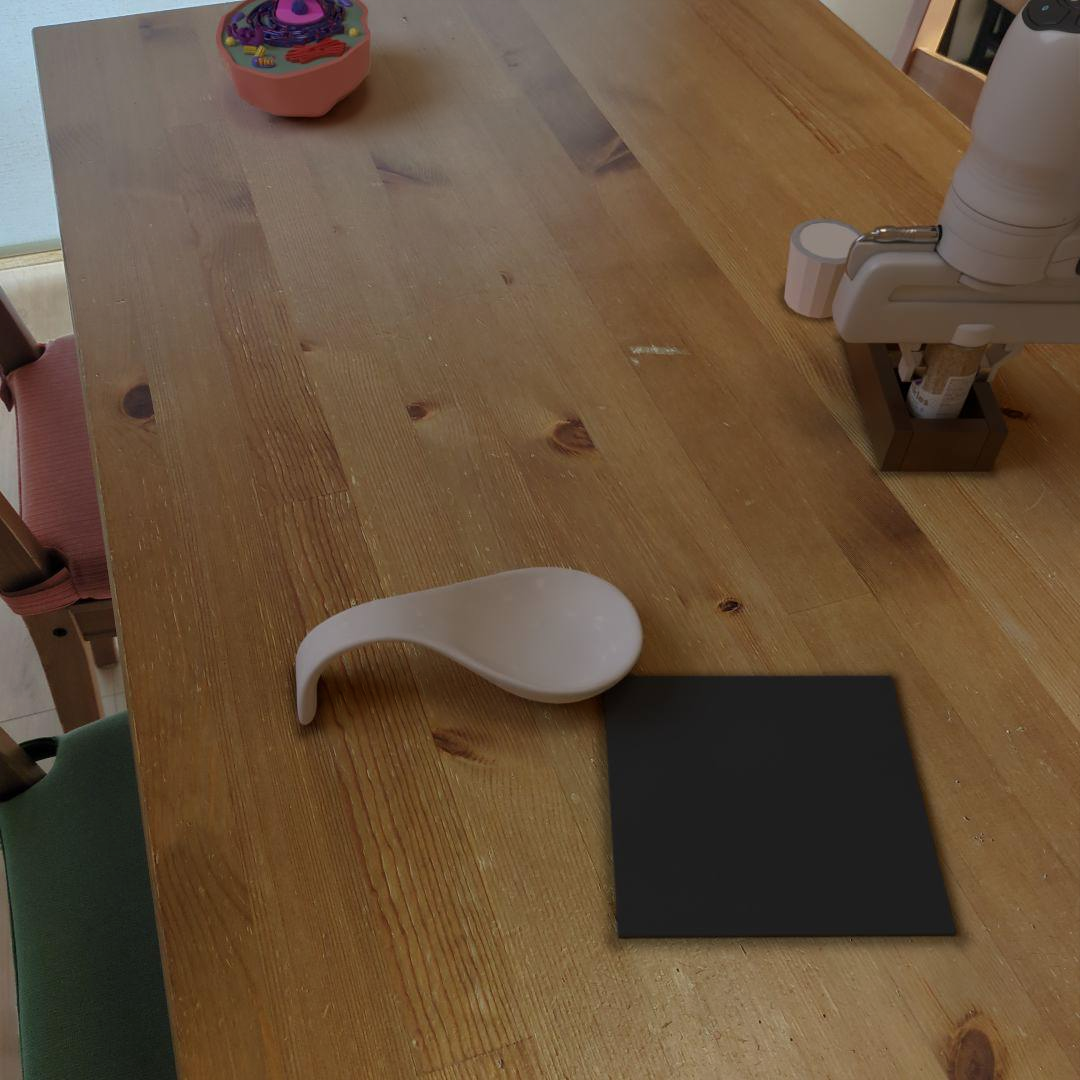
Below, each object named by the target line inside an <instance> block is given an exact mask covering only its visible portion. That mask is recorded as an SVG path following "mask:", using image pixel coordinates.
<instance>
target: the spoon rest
mask: <svg viewBox="0 0 1080 1080" xmlns="http://www.w3.org/2000/svg"><path fill="white" fill-rule="evenodd" d="M381 643H403V644H404V643H406V644H412V645H416V646H420V647H423V648H425V649H428V650H431V651H434V652H436V653H438V654H440V655H442V656H444V657H446V658H448V659H450V660H451V661H453V662H455V663H457V664H459V665H460V666H462V667H464V668H466V669H468V670H469V671H470V672H473V673H474V674H476V675H478V676H479V677H481V678H482V679H484V680H486V681H487V682H489V683H491V684H493V685H495V686H497V687H498V688H500V689H502V690H504V691H506V692H507V693H510V694H512V695H514V696H517V697H519V698H523V699H526V700H530V701H534V702H538V703H546V704H570V703H577V702H580V701H584V700H588V699H590V698H593V697H596V696H598V695H600V694H602V693H604V691H606V690H607V689H609V688H611V687H613V686H614V685H615V684H617V683H618V682H619V681H620V680H622V679H623V678H624V677H625V676H628V674H629V673H630V672H631V671H632V669H633V668H634V667H635V666H636V664H637V662H638V660H639V659H640V657H641V653H642V650H643V646H644V631H643V626H642V621H641V618H640V616H639V613H638V611H637V609H636V607H635V606H634V604H633V603H632V601H631V600H630V599H629V598H628V597H627V595H625V594H624V593H623V591H622V590H620V589H619V588H618V587H617V586H615V585H614V584H612V583H611V582H609V581H608V580H605V579H604V578H601V577H599V576H598V575H595V574H592V573H589V572H585V571H582V570H579V569H575V568H574V569H573V568H566V567H558V566H557V567H556V566H535V567H525V568H518V569H512V570H506V571H501V572H498V573H494V574H490V575H485V576H482V577H481V576H480V577H476V578H472V579H469V580H464V581H459V582H454V583H452V584H446V585H443V586H438V587H432V588H429V589H424V590H418V591H414V592H408V593H404V594H399V595H394V596H388V597H383V598H378V599H374V600H370V601H367V602H363V603H361V604H357V605H355V606H353V607H350V608H347V609H345V610H343V611H341V612H338V613H336V614H334V615H332V616H330V617H329V618H326V619H325V620H323V621H322V622H321V623H319V624H317V625H316V626H314V628H313V629H312V630H310V631H309V632H308V634H307V635H305V637H304V639H303V640H302V641H301V643H300V645H299V647H298V649H297V651H296V652H297V653H296V656H295V680H296V681H295V682H296V683H295V685H296V705H297V706H296V708H297V716H298V721H299V723H300V724H301V725H303V726H304V725H305V726H306V725H308V724H311V722H312V721H313V720H314V717H315V716H316V713H317V706H318V691H317V690H318V689H317V688H318V681H319V679H320V677H321V676H322V673H323V672H324V671H325V669H327V667H328V666H329V665H330V664H331V663H333V662H334V661H335V660H337V659H339V658H340V657H343V656H344V655H346V654H348V653H350V652H353V651H355V650H358V649H361V648H363V647H367V646H370V645H371V646H372V645H375V644H381Z"/></svg>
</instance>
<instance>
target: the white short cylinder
mask: <svg viewBox="0 0 1080 1080" xmlns="http://www.w3.org/2000/svg"><path fill="white" fill-rule="evenodd" d="M861 235H863V232H862V231H860V230H859V229H857V227H855V226H853V225H852V224H850V223H846V222H843V221H841V220H838V219H831V218H815V219H808V220H805V221H803V222H801V223H799V224H797V225H796V226H795V228H794V229H793V230H792V231H791V234H790V243H789V250H788V251H789V252H788V259H787V260H788V261H787V268H786V269H787V270H786V279H785V286H784V301H785V303H786V304H787V306H788V308H790V309H792V310H793V311H794V312H796V313H797V314H799V315H802V316H805V317H807V318H815V319H827V318H833V315H832V304H833V300H834V297H835V295H836V292H837V289H838V287H839V284H840V282H841V279H842V277H843V275H844V273H845V263H846V259H847V255H848V252H849V248H850V245H851V243H852V242H853V241H854V239H856V238H858V237H860V236H861Z"/></svg>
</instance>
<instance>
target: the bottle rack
mask: <svg viewBox="0 0 1080 1080" xmlns="http://www.w3.org/2000/svg"><path fill="white" fill-rule="evenodd" d="M841 340H842V343H843V347H844V350H845V354H846V358H847V361H848V364H849V368H850V372H851V375H852V378H853V382H854V385H855V389H856V392H857V395H858V399H859V403H860V406H861V409H862V412H863V416H864V420H865V423H866V426H867V427H866V428H867V430H868V433H869V438H870V440H871V443H872V447H873V451H874V455H875V458H876V460H877V465H878V468H879V471H880V472H883V473H884V472H887V473H889V472H890V473H892V472H893V473H894V472H897V473H898V472H900V473H903V472H907V473H909V472H912V473H915V472H917V473H918V472H922V473H923V472H924V473H925V472H927V473H928V472H929V473H930V472H932V473H945V472H946V473H949V472H950V473H971V472H973V473H987V472H988V473H990V472H991V471H992V469H993V467H994V464H995V462H996V460H997V458H998V457H999V455H1000V452H1001V450H1002V448H1003V446H1004V443H1005V441H1006V439H1007V438H1008V435H1009V433H1010V430H1009V427H1008V425H1007V422H1006V420H1005V417H1004V414H1003V412H1002V410H1001V408H1000V405H999V402H998V400H997V398H996V396H995V392H994V390H993V388H992V385H991V384H990V383H991V382H973V383H972V385H971V388H970V390H969V392H968V395H967V397H966V399H965V402H964V404H963V407H962V409H961V411H960V414H959V416H958V417H957V419H925V418H911V419H910V418H909V415H908V412H907V409H906V406H905V402H906V397H907V394H908V392H909V389H910V386H911V384H912V382H902V381H901V378H900V375H899V364H900V361H901V358H902V355H897V354H896V355H890V354H889V351H901V350H900V347H899V344H898V343H848V342H846V341H844V339H843V338H842V339H841ZM926 346H927V343H922V344H921V347H920V349H919V350H918V351H925V349H926Z"/></svg>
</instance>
